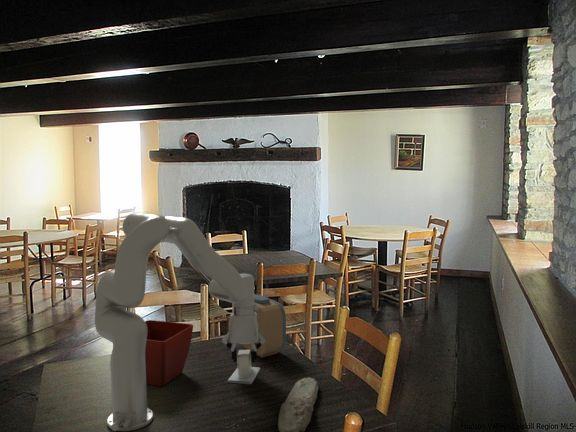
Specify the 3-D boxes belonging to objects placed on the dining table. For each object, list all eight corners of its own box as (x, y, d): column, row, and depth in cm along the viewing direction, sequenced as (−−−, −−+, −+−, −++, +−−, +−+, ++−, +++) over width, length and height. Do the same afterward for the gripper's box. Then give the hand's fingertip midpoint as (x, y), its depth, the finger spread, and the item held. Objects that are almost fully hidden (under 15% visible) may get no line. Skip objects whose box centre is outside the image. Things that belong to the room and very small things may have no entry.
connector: (249, 378, 172) (248, 357, 171) (237, 378, 172) (236, 358, 172) (252, 365, 183) (251, 346, 182) (241, 366, 183) (239, 347, 182)
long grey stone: (324, 389, 169) (294, 388, 171) (323, 373, 169) (294, 373, 171) (308, 440, 135) (271, 438, 137) (307, 420, 134) (270, 419, 136)
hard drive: (250, 381, 170) (260, 367, 182) (227, 380, 171) (238, 365, 184) (251, 386, 170) (260, 371, 182) (227, 384, 172) (238, 369, 184)
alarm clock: (286, 355, 195) (286, 300, 192) (266, 361, 189) (265, 304, 187) (257, 341, 211) (256, 289, 209) (237, 346, 205) (236, 293, 203)
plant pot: (149, 363, 188) (148, 318, 187) (195, 370, 182) (194, 324, 180) (116, 384, 170) (114, 335, 169) (165, 392, 164) (164, 341, 162)
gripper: (269, 306, 178) (269, 357, 180) (219, 307, 179) (220, 357, 180) (268, 313, 171) (268, 365, 173) (216, 313, 171) (217, 365, 173)
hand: (244, 360), depth 177 cm, fingers open, 5 cm apart
